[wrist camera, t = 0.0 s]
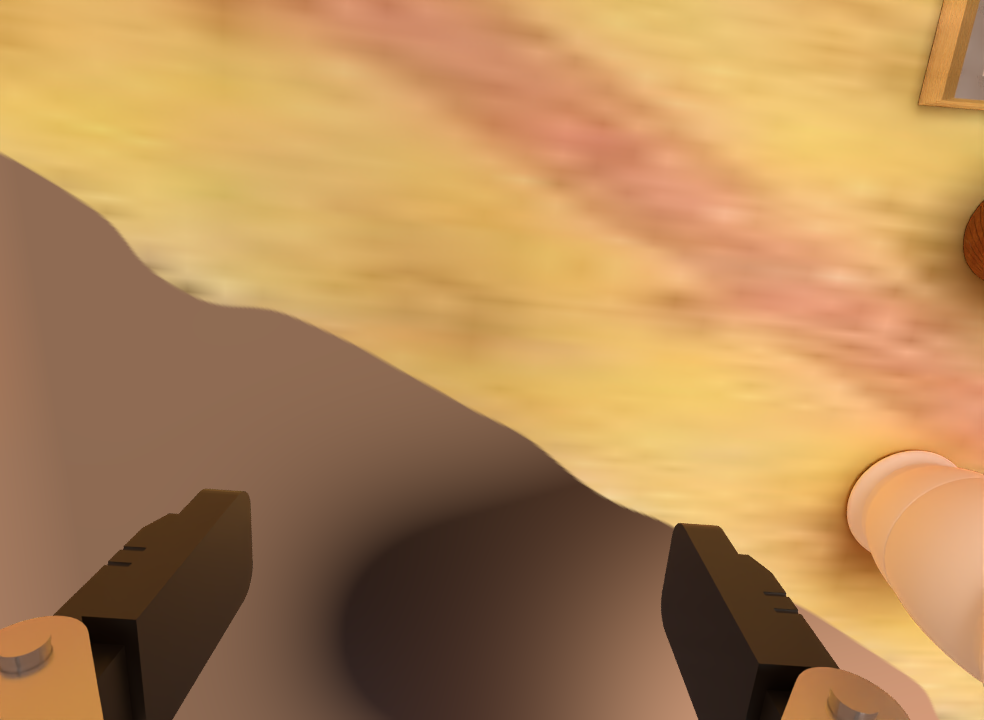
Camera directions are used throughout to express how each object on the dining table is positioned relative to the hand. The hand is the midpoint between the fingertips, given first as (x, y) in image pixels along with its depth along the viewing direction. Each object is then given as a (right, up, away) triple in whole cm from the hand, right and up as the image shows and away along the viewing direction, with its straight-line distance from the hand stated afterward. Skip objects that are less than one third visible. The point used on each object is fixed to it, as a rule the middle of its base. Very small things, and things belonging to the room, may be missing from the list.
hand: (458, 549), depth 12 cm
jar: (+30, -7, +32) cm, 45 cm away
